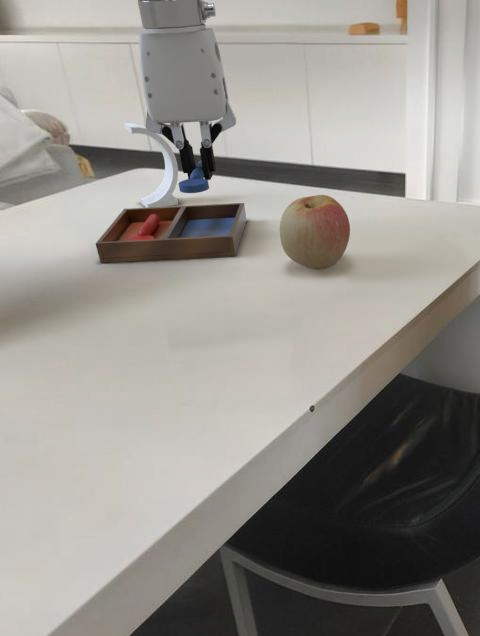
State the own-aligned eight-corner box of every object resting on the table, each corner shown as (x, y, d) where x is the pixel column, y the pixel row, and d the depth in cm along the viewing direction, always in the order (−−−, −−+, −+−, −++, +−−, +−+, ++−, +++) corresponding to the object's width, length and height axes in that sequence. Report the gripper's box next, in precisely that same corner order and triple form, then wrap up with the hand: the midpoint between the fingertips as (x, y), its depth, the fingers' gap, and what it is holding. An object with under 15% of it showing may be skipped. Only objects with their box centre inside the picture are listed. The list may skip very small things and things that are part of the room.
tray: (100, 263, 91) (95, 243, 90) (128, 226, 104) (123, 208, 102) (235, 256, 91) (232, 236, 90) (246, 220, 104) (244, 202, 102)
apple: (342, 250, 92) (338, 187, 87) (358, 272, 85) (356, 205, 80) (278, 258, 90) (271, 194, 85) (289, 281, 83) (282, 213, 78)
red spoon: (169, 223, 102) (166, 212, 101) (152, 249, 92) (150, 237, 91) (143, 224, 102) (141, 213, 101) (124, 251, 92) (121, 239, 91)
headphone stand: (141, 203, 114) (123, 123, 107) (176, 197, 116) (161, 118, 109) (148, 209, 111) (130, 127, 103) (184, 203, 113) (169, 122, 106)
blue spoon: (218, 169, 98) (216, 157, 97) (207, 192, 88) (204, 179, 87) (192, 171, 98) (189, 159, 97) (177, 194, 88) (174, 180, 87)
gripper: (240, 11, 86) (259, 168, 97) (115, 18, 86) (149, 174, 97) (233, 15, 80) (255, 182, 91) (100, 22, 80) (138, 188, 91)
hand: (200, 177), depth 94 cm, fingers closed on blue spoon, 1 cm apart
